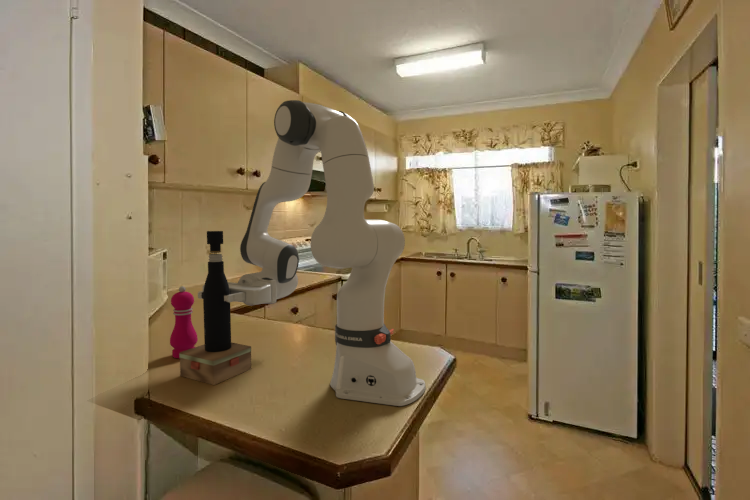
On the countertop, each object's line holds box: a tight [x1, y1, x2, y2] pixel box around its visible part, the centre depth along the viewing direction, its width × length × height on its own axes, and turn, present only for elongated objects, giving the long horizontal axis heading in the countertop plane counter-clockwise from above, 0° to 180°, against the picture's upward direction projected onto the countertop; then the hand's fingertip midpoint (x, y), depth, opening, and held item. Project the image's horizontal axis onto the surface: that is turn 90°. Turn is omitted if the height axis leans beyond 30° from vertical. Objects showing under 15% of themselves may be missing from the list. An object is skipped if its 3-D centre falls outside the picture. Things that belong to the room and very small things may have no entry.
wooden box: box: [178, 341, 252, 386], centre depth 104 cm, size 13×13×6 cm
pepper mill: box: [169, 285, 198, 360], centre depth 117 cm, size 7×7×20 cm
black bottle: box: [202, 230, 232, 352], centre depth 103 cm, size 6×6×30 cm
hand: (212, 297), depth 102 cm, fingers open, 8 cm apart
